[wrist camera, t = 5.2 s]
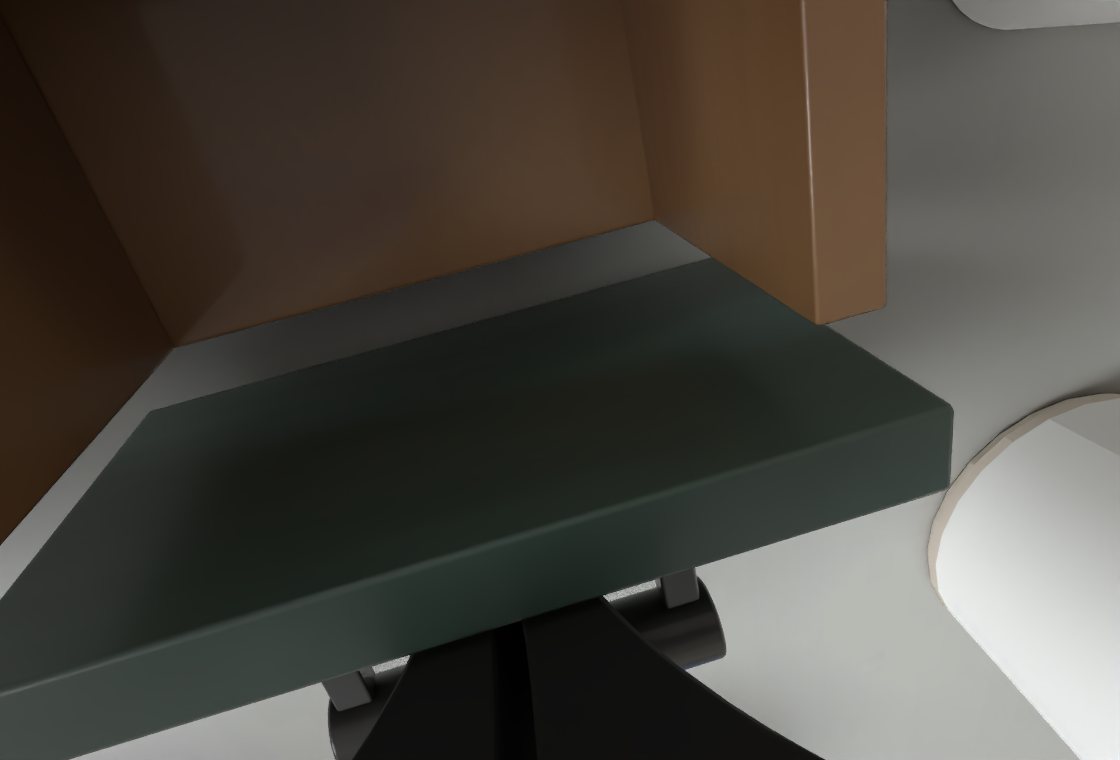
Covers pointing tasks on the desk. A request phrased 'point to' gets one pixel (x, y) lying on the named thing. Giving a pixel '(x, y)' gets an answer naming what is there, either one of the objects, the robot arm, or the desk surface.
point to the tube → (1039, 12)
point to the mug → (1043, 564)
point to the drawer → (430, 361)
